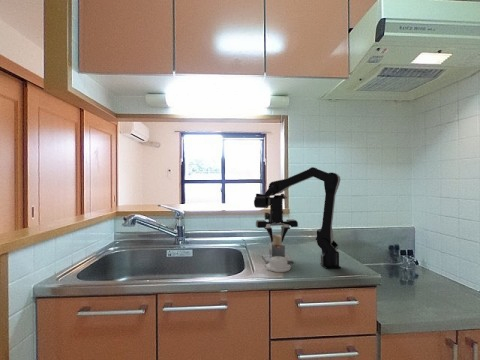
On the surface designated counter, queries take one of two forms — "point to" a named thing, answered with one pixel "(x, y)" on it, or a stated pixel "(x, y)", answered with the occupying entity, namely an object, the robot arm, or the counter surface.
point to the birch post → (276, 240)
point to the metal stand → (276, 253)
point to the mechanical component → (278, 264)
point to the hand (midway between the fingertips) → (276, 242)
